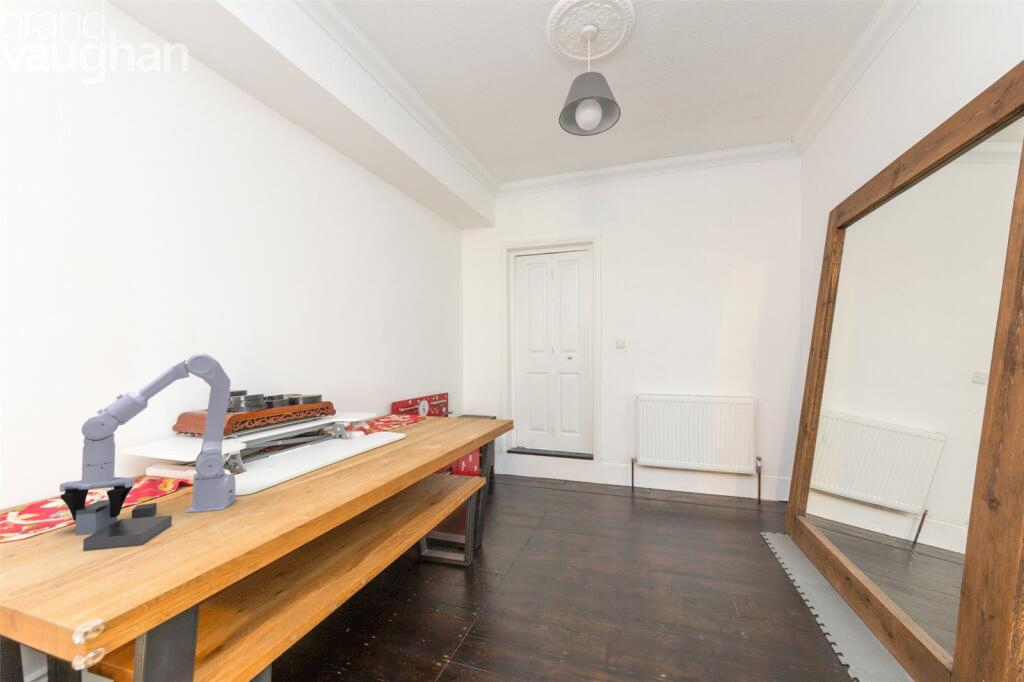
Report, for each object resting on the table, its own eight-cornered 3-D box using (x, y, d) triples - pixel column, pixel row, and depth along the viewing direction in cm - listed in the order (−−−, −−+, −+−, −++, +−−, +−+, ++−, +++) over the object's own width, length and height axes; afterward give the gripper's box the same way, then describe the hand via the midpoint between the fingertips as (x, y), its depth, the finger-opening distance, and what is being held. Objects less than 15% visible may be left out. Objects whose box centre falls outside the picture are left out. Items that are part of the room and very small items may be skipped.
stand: (171, 525, 101) (171, 515, 101) (141, 545, 90) (141, 533, 90) (120, 529, 99) (120, 519, 99) (83, 550, 88) (83, 539, 88)
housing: (117, 522, 103) (117, 499, 104) (95, 534, 97) (96, 509, 97) (98, 523, 103) (99, 500, 103) (75, 535, 96) (76, 510, 96)
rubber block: (156, 513, 109) (156, 502, 109) (151, 518, 106) (151, 507, 106) (137, 516, 107) (137, 505, 108) (131, 521, 104) (131, 510, 104)
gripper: (49, 469, 95) (46, 527, 94) (121, 465, 98) (119, 521, 97) (74, 461, 102) (72, 515, 101) (141, 458, 105) (139, 510, 104)
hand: (96, 517), depth 100 cm, fingers open, 7 cm apart
